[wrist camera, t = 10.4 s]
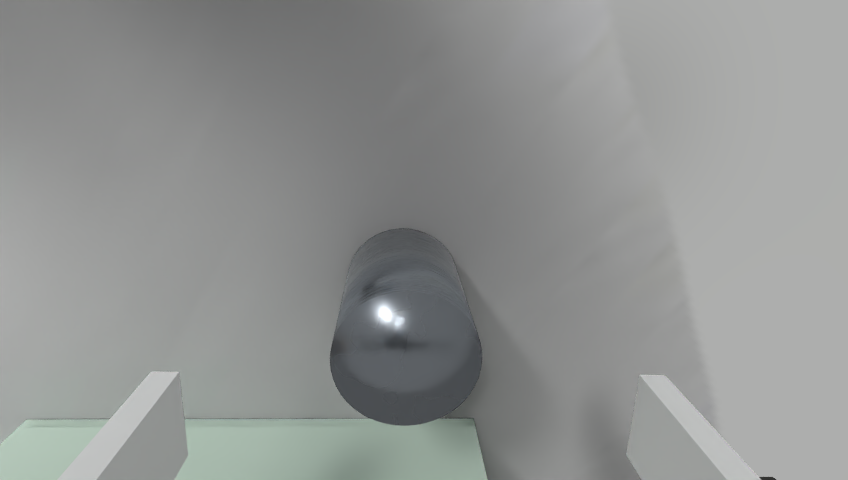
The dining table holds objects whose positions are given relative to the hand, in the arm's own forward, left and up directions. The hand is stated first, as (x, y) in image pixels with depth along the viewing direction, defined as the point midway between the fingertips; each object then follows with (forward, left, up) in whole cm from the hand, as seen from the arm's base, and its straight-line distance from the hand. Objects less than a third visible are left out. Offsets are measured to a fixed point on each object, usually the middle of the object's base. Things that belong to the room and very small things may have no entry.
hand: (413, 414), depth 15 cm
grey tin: (0, 0, -9) cm, 9 cm away
